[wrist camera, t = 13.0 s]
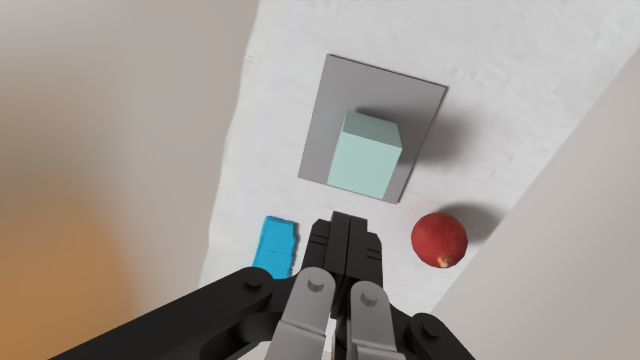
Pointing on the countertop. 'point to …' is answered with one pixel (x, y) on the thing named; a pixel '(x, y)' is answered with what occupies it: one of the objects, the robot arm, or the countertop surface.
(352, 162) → the mint green square prism
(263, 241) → the sponge
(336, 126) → the mat
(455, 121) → the countertop surface
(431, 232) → the onion
